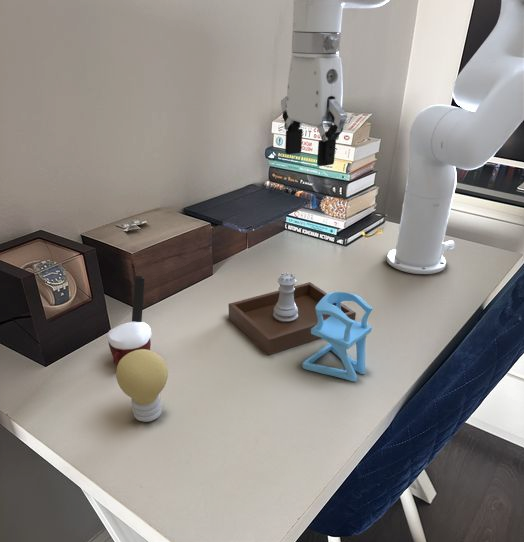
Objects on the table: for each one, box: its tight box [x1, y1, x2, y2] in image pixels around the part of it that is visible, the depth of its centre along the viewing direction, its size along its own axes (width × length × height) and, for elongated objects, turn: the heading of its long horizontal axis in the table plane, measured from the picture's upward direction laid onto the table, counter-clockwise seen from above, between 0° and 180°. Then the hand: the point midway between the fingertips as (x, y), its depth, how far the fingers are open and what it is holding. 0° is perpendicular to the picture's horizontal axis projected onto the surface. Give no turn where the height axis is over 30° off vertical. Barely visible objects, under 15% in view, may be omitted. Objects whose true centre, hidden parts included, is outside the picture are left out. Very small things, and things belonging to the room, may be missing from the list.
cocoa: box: [106, 275, 153, 366], centre depth 77 cm, size 10×6×12 cm, turn 140°
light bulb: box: [115, 349, 169, 423], centre depth 66 cm, size 6×6×10 cm
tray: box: [228, 281, 357, 356], centre depth 89 cm, size 18×14×3 cm
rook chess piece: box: [273, 272, 298, 322], centre depth 88 cm, size 4×4×8 cm
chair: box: [302, 291, 374, 383], centre depth 75 cm, size 8×8×12 cm
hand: (308, 158), depth 90 cm, fingers open, 9 cm apart
